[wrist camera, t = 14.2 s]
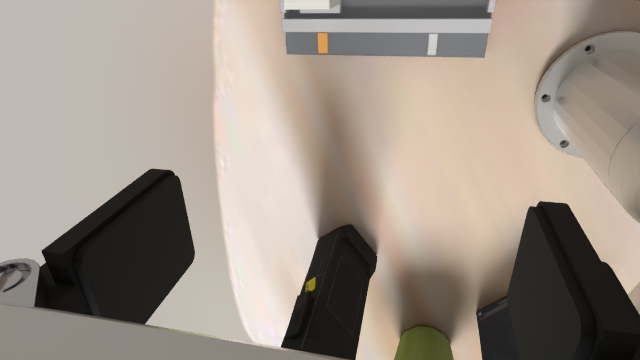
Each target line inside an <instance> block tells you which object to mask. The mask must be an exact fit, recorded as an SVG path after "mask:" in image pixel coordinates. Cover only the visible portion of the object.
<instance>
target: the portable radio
mask: <svg viewBox="0 0 640 360" xmlns="http://www.w3.org/2000/svg"><path fill="white" fill-rule="evenodd" d="M376 263H377V256H376V254H375V253H374V252H373V250H372V249H371V248H370V247H369V245H368V244H367V243H366V242H365V240H364V239H363V238H362V237H361V235H360V234H359V233H358V232H357V230H356V229H355V228H354V227H353V226H352V225H346V226H342V227H340V228H338V229H336V230H334V231H332V232H330V233H329V234H327V235H325V236H323V237H321V238H320V239H319V240H318V242H317V245H316V248H315V252H314V255H313V258H312V261H311V265H310V267H309V270H308V273H307V276H306V279H305V282H304V284H303V287H302V290H301V293H300V295H299V296H297V300H296V303H295V306H294V310H293V313H292V316H291V319H290V323H289V326H288V329H287V331H286V334H285V337H284V340H283V342H282V345H281V348H286V349H292V350H297V351H303V352H309V353H315V354H320V355H326V356H331V357H337V358H343V359H348V360H355V359H356V353H357V347H358V342H359V336H360V330H361V325H362V319H363V313H364V308H365V302H366V296H367V291H368V286H369V280H370V278H371V276H372V275H373V273H374V272H375V269H376Z"/></svg>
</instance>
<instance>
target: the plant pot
mask: <svg viewBox="0 0 640 360" xmlns="http://www.w3.org/2000/svg"><path fill="white" fill-rule="evenodd" d="M394 360H454V359H453V355H452V351H451V347H450V343H449V341H448V340H447V338H446V337H445V336H444V335H443V333H441V332H440V331H438V330H436V329H434V328H431V327H426V326H417V327H415V328H413V329H410V330H406V331H405V332H404V333H403V334H402V336H401V339H400V342H399V345H398V349H397V352H396V355H395V359H394Z"/></svg>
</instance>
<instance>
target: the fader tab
mask: <svg viewBox="0 0 640 360" xmlns="http://www.w3.org/2000/svg"><path fill="white" fill-rule="evenodd" d="M298 9H300V13H341V12H342V0H284V10H298Z"/></svg>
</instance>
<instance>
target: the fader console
mask: <svg viewBox="0 0 640 360" xmlns="http://www.w3.org/2000/svg"><path fill="white" fill-rule="evenodd" d="M495 1H496V0H342V12H341V13H300V9H298V10H284V0H280V8H281V13H284V14H285V18H284V19H282V30H283V32H286V47H287V54H310V55H366V56H422V57H477V58H485V51H486V45H487V38H488V33H490V30H491V24H492V19H491V13H492V12H494V7H495Z"/></svg>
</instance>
